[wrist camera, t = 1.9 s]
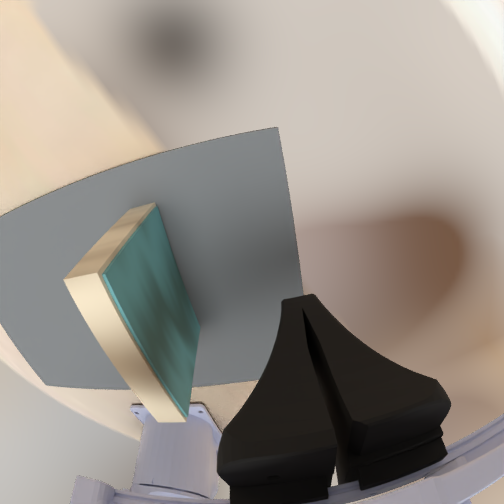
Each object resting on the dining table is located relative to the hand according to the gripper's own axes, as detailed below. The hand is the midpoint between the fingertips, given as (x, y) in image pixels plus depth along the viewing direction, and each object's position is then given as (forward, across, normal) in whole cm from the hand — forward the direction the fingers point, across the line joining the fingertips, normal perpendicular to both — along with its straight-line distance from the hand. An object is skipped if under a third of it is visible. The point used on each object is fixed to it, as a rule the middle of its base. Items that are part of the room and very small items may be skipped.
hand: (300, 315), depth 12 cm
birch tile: (+6, +7, 0) cm, 9 cm away
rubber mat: (+6, +13, +2) cm, 15 cm away
